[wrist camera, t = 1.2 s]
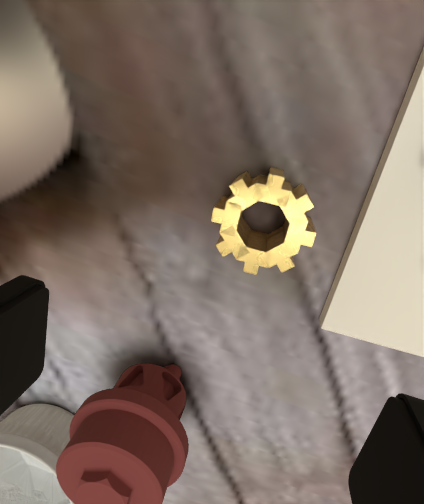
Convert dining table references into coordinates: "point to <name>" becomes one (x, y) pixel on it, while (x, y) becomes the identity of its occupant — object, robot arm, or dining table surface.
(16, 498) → the ramekin
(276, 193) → the brass gear
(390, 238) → the gear board
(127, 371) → the mechanical component
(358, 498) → the robot arm
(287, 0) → the dining table surface
